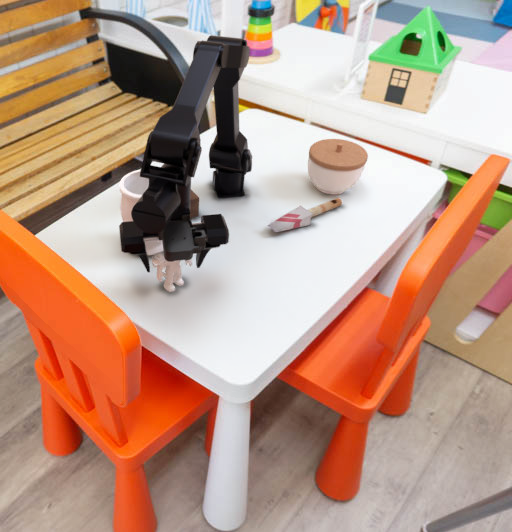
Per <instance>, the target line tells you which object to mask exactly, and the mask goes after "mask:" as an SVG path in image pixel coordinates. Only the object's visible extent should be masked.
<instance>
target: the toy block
mask: <svg viewBox="0 0 512 532" xmlns="http://www.w3.org/2000/svg"><path fill="white" fill-rule="evenodd" d="M199 214H200V196H198V195H197V193H195V192H194V190H192V189H191V201H190V219H191V220H192V219H194V218H198V217H199V216H200V215H199Z"/></svg>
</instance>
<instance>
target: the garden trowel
mask: <svg viewBox="0 0 512 532" xmlns="http://www.w3.org/2000/svg"><path fill="white" fill-rule="evenodd" d="M342 204H343V201H342V199H341V198H340V197H336V198H333V199H331V200H329V201H326V202H324V203H321V204H319V205H316V206H314V207H311V208H309V209H308V208H305V207H304V206H302V205H299V206H297V207H296V208H294V209H292V210H290V211H289V212H287V213H286V214H283V215H282V216H280V217H279V218H277V219H275V220H274V221H272V222H270V223H268V224H267V225H266V226H267V227H268V228H269V229H271V230H272V231H273V232H275V233H279V232H284V231H288V230H293V229H297V228H301V227H302V228H303V227H306V226H310V225H312V222H311V219H312V218H313V217H317V216H318V215H321V214H323V213H325V212H328V211H330V210H332V209H335V208H338V207H340V206H342Z"/></svg>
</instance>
